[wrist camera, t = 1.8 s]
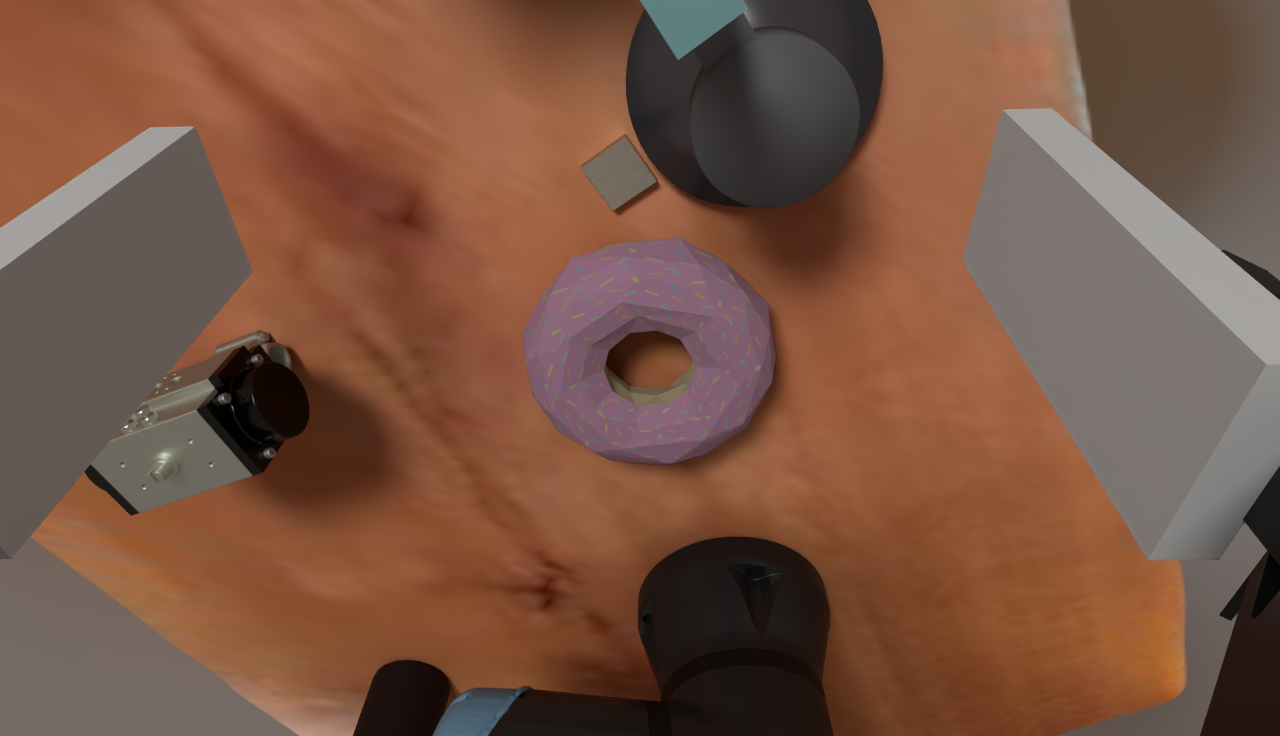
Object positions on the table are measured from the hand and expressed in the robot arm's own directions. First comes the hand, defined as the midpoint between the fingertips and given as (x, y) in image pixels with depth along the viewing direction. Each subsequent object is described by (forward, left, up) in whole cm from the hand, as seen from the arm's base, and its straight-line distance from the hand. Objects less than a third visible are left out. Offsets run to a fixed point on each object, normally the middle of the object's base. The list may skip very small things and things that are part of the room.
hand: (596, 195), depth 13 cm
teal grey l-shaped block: (-4, -3, -23) cm, 23 cm away
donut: (-17, +11, -30) cm, 36 cm away
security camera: (-3, +32, -29) cm, 44 cm away
